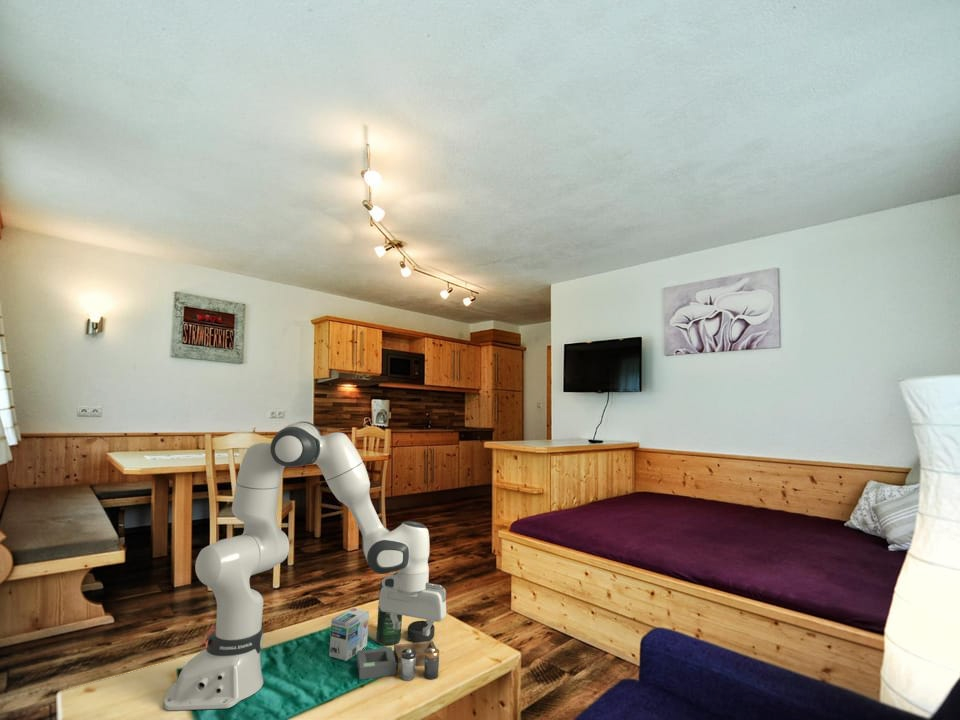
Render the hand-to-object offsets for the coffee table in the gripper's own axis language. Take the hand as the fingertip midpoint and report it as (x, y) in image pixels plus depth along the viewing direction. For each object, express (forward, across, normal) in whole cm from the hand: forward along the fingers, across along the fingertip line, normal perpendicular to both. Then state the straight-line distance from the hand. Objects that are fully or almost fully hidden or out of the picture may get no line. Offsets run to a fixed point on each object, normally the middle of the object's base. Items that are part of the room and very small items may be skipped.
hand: (411, 632), depth 136 cm
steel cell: (+12, +1, 0) cm, 12 cm away
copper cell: (+12, -5, -4) cm, 14 cm away
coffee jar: (+12, +18, -17) cm, 27 cm away
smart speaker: (+12, +9, -23) cm, 28 cm away
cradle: (+12, +11, 0) cm, 16 cm away
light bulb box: (+12, +24, -5) cm, 28 cm away
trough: (+12, +4, -10) cm, 16 cm away
